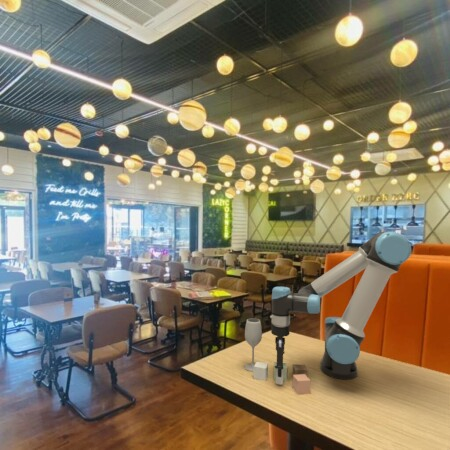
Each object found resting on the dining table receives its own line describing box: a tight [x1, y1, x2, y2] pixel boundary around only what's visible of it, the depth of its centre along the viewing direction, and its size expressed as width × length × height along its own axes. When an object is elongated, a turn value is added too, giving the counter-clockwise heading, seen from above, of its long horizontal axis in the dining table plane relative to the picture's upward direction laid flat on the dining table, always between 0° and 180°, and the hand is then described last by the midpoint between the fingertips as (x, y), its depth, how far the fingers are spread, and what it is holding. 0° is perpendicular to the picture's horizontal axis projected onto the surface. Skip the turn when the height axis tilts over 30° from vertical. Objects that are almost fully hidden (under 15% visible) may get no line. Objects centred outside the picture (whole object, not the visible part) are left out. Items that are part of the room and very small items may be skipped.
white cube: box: [253, 361, 269, 381], centre depth 127 cm, size 5×5×5 cm
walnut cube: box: [292, 364, 309, 378], centre depth 125 cm, size 5×5×5 cm
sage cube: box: [273, 361, 288, 382], centre depth 127 cm, size 5×5×5 cm
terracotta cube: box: [292, 374, 311, 395], centre depth 116 cm, size 5×5×5 cm
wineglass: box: [244, 317, 263, 373], centre depth 135 cm, size 8×8×21 cm
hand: (279, 376), depth 127 cm, fingers open, 12 cm apart
